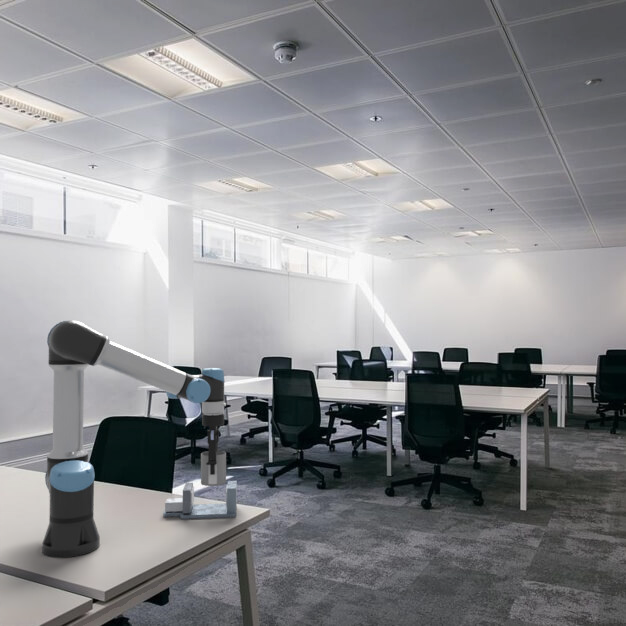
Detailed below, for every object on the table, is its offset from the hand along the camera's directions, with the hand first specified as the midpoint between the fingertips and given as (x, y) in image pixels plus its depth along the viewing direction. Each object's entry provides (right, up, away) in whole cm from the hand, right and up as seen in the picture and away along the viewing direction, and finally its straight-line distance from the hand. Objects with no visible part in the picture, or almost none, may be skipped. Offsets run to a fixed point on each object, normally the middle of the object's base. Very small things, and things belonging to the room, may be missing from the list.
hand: (213, 480), depth 201 cm
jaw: (-11, -9, -2) cm, 15 cm away
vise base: (-4, -11, -1) cm, 12 cm away
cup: (0, -1, 0) cm, 1 cm away
